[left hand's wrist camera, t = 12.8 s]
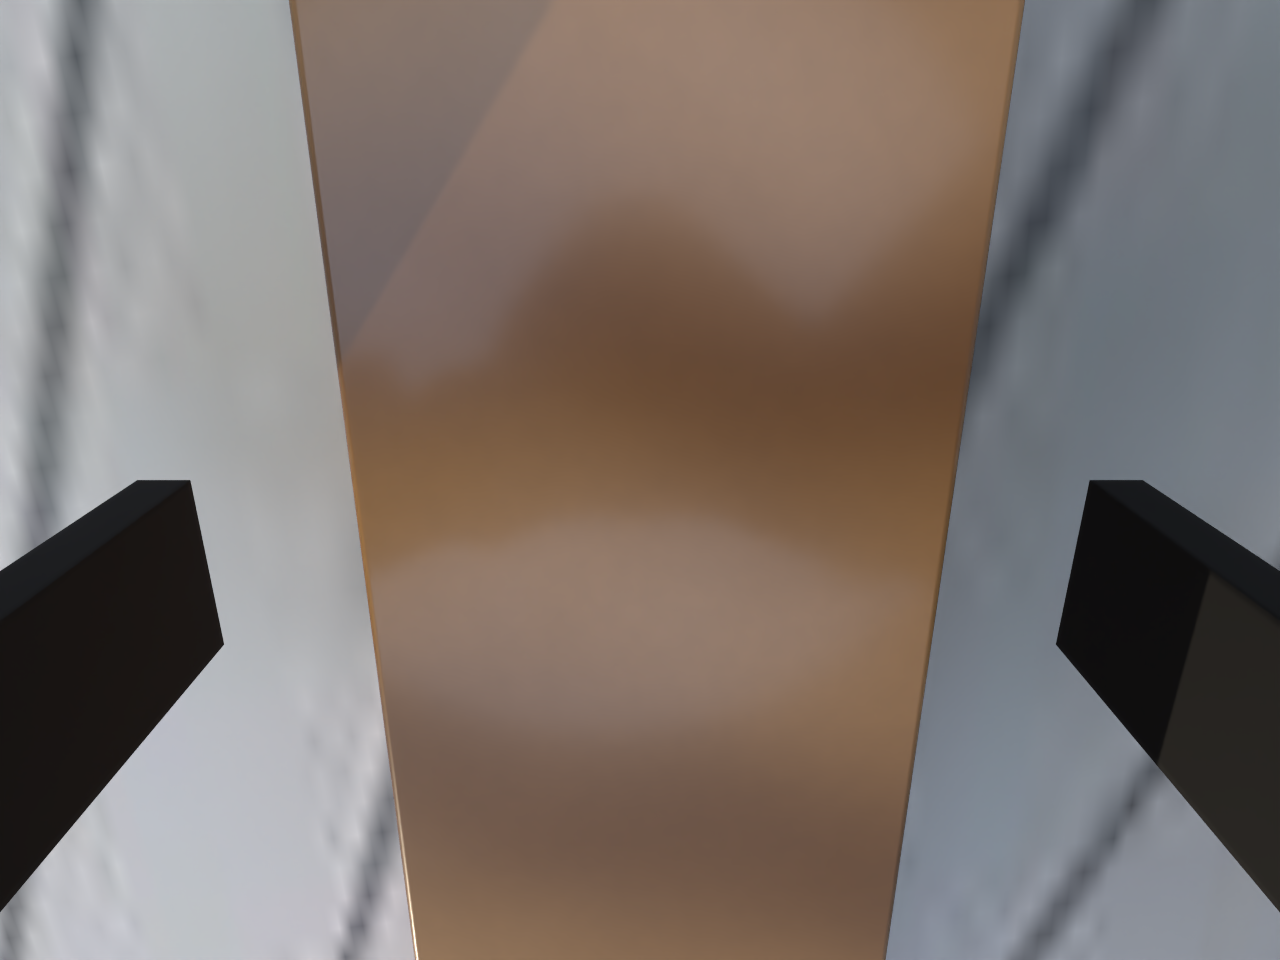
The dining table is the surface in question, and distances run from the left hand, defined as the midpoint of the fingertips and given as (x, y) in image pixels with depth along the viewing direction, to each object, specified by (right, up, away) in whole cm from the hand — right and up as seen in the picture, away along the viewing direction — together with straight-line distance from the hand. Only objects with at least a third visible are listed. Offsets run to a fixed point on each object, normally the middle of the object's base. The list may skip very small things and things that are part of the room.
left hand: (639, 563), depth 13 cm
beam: (0, -28, +15) cm, 32 cm away
